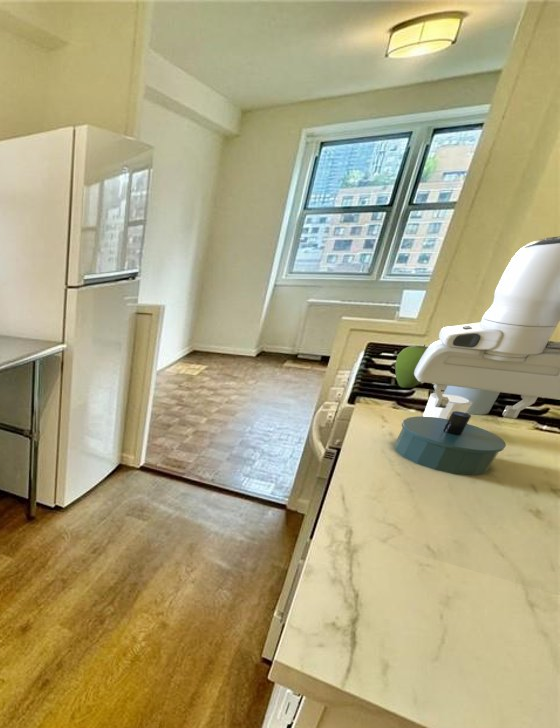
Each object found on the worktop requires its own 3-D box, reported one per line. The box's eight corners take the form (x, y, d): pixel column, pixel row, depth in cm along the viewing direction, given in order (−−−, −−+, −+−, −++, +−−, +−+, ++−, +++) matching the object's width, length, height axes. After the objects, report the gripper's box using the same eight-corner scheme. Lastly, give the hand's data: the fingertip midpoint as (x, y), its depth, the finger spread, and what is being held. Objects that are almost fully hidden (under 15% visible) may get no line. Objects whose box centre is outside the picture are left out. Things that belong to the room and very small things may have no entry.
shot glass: (461, 428, 107) (477, 399, 103) (451, 436, 103) (467, 406, 100) (422, 418, 112) (436, 389, 108) (411, 425, 108) (425, 396, 105)
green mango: (429, 394, 124) (450, 351, 118) (387, 388, 128) (406, 346, 123) (423, 384, 130) (443, 342, 125) (384, 379, 134) (402, 338, 129)
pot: (477, 454, 96) (491, 430, 94) (493, 485, 86) (509, 459, 84) (390, 437, 103) (401, 414, 100) (396, 464, 93) (408, 439, 91)
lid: (492, 433, 94) (506, 409, 92) (512, 464, 83) (528, 438, 81) (396, 416, 101) (407, 393, 99) (404, 442, 91) (415, 418, 88)
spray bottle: (441, 409, 116) (495, 302, 104) (436, 397, 122) (486, 296, 111) (492, 417, 111) (555, 307, 100) (484, 405, 118) (542, 300, 106)
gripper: (593, 341, 80) (548, 417, 87) (430, 327, 91) (401, 396, 97) (608, 350, 76) (560, 430, 82) (435, 335, 86) (404, 406, 92)
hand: (473, 411), depth 90 cm, fingers open, 8 cm apart
